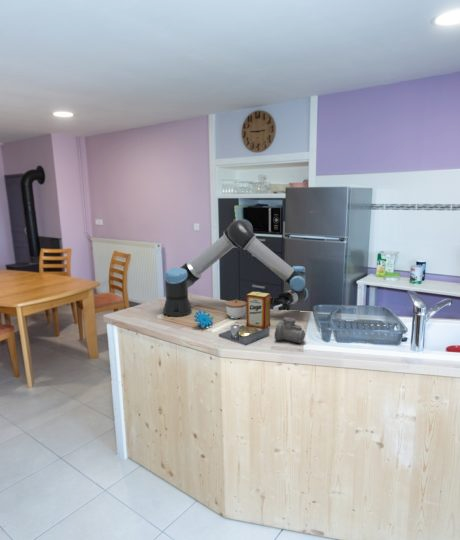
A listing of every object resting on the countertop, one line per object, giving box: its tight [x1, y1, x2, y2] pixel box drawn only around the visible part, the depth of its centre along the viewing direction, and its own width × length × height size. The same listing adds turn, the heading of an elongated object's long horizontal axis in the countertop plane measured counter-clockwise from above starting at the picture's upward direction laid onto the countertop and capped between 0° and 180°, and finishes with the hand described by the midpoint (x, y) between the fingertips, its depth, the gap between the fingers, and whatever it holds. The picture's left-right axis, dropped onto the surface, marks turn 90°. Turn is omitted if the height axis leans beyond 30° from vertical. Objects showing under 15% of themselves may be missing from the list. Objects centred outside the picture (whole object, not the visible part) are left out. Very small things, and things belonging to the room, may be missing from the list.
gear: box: [193, 309, 215, 329], centre depth 186 cm, size 11×6×10 cm
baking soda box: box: [245, 291, 271, 330], centre depth 185 cm, size 10×6×16 cm
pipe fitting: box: [274, 316, 306, 344], centre depth 165 cm, size 12×8×10 cm
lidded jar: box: [225, 299, 246, 319], centre depth 199 cm, size 11×11×9 cm
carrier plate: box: [218, 324, 270, 346], centre depth 172 cm, size 16×16×6 cm
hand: (262, 307), depth 186 cm, fingers open, 13 cm apart
